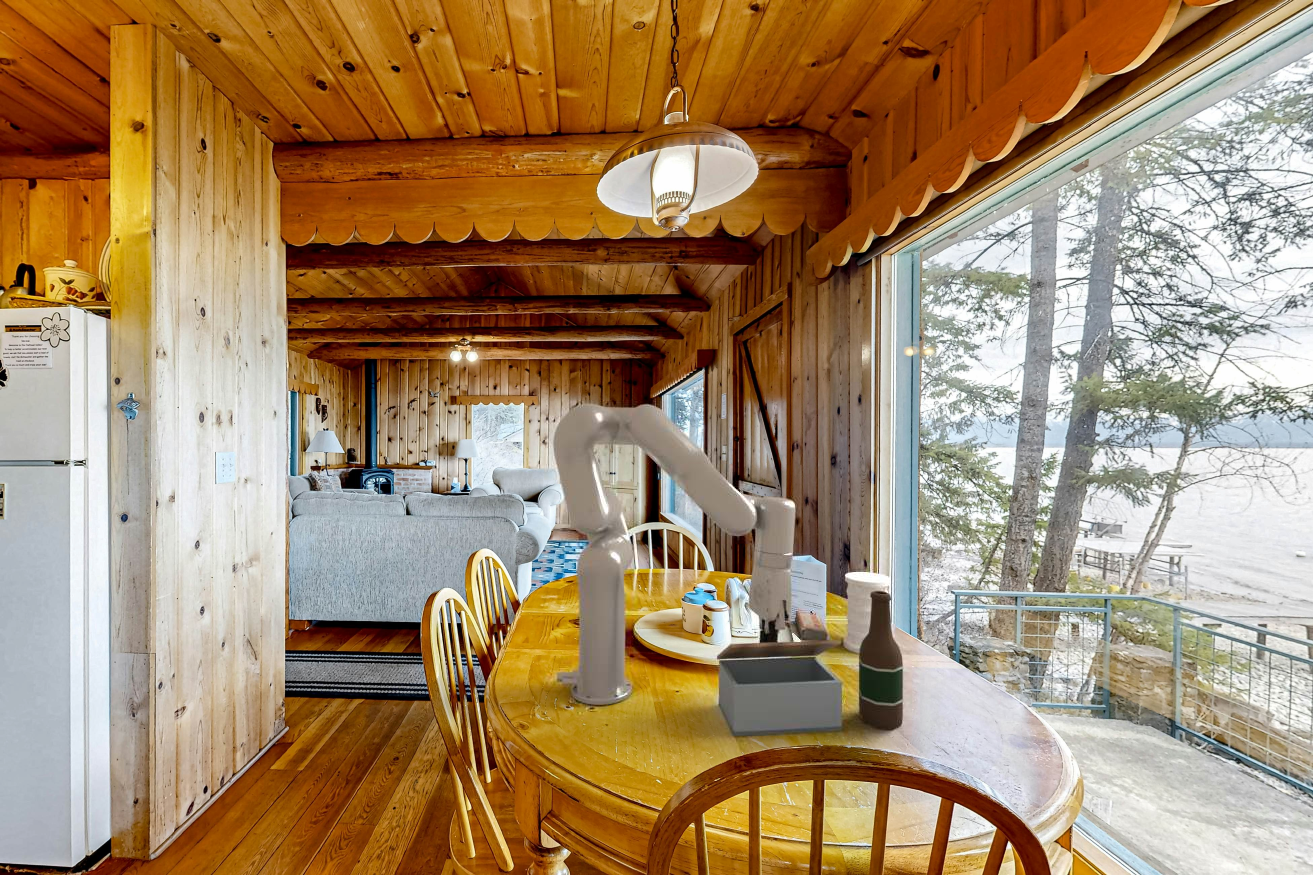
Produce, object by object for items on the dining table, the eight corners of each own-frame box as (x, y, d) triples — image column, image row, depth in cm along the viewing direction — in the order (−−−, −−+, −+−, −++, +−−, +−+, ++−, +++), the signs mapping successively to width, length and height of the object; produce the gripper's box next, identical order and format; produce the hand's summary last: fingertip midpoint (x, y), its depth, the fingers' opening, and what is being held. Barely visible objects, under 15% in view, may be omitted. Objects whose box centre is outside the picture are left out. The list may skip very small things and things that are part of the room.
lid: (731, 647, 99) (730, 643, 100) (717, 659, 110) (716, 655, 111) (841, 643, 102) (840, 639, 102) (816, 655, 113) (815, 652, 113)
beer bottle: (899, 735, 99) (899, 600, 99) (854, 723, 103) (854, 594, 103) (905, 716, 106) (906, 590, 106) (863, 706, 110) (863, 585, 110)
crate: (733, 736, 98) (734, 686, 98) (718, 704, 110) (718, 660, 110) (841, 730, 100) (842, 681, 100) (815, 700, 112) (815, 656, 112)
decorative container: (869, 637, 149) (869, 570, 150) (902, 652, 139) (902, 580, 139) (833, 642, 145) (834, 573, 146) (864, 658, 135) (865, 584, 135)
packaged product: (788, 608, 161) (823, 609, 159) (788, 624, 161) (823, 626, 159) (793, 628, 143) (833, 630, 141) (793, 647, 143) (833, 649, 141)
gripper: (740, 551, 117) (735, 638, 117) (773, 568, 103) (767, 667, 103) (773, 551, 119) (768, 637, 119) (809, 568, 105) (803, 665, 104)
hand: (767, 651), depth 111 cm, fingers closed
